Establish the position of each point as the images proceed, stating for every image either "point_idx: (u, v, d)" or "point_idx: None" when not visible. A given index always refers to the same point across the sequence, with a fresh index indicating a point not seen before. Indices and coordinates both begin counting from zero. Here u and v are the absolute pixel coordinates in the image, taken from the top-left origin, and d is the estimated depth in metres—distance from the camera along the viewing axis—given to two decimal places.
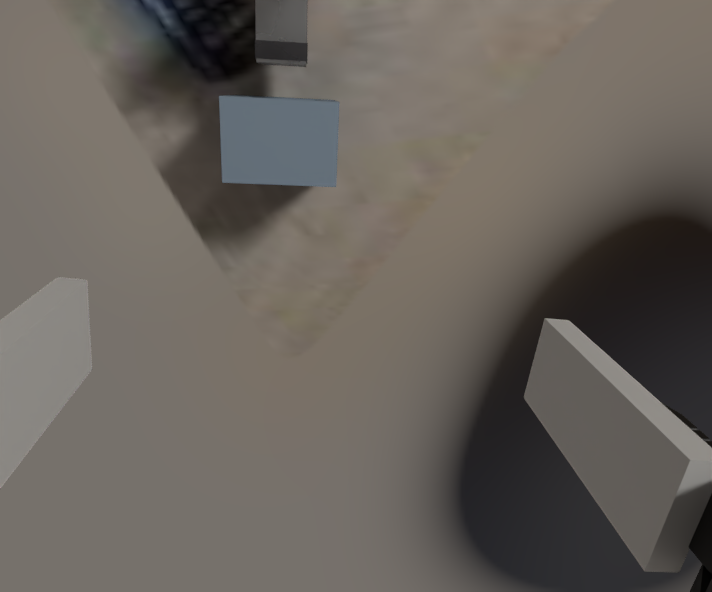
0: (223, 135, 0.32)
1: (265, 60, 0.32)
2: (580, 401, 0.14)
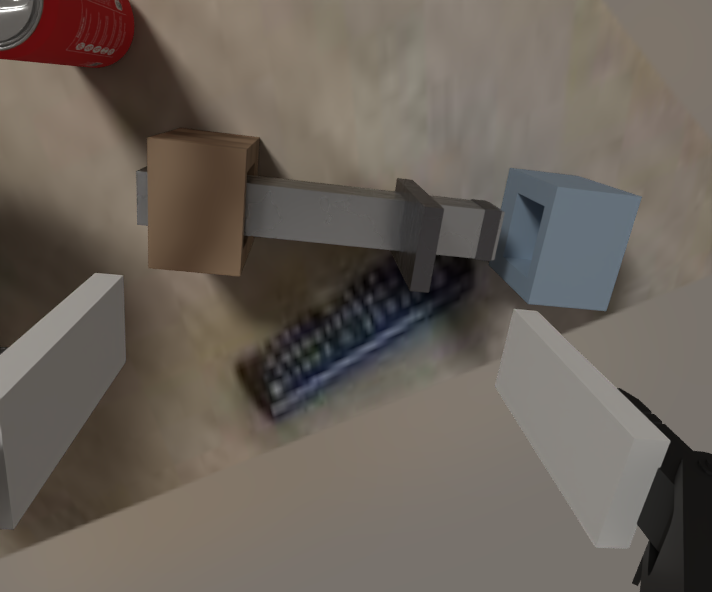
0: (563, 304, 0.32)
1: (494, 251, 0.33)
2: (543, 387, 0.14)
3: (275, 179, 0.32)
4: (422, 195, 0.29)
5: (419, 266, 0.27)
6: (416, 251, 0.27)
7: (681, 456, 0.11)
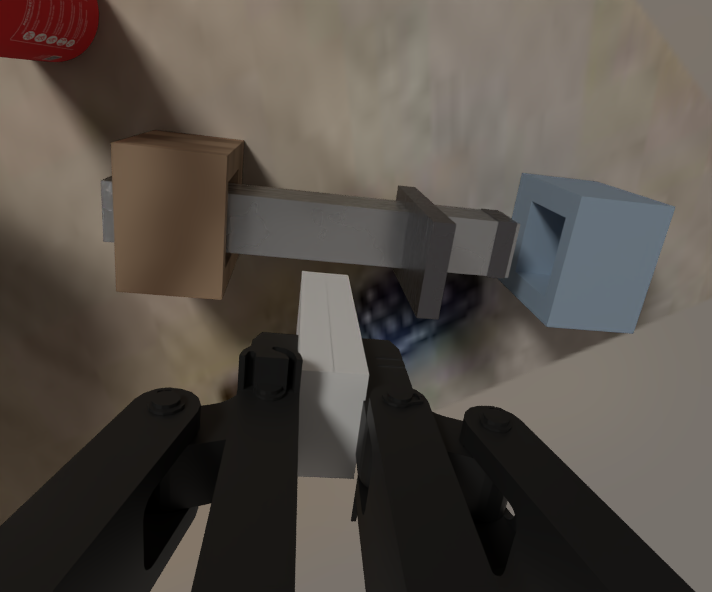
0: (586, 326, 0.29)
1: (508, 267, 0.29)
2: None
3: (261, 188, 0.29)
4: (429, 207, 0.26)
5: (427, 289, 0.24)
6: (424, 273, 0.23)
7: None
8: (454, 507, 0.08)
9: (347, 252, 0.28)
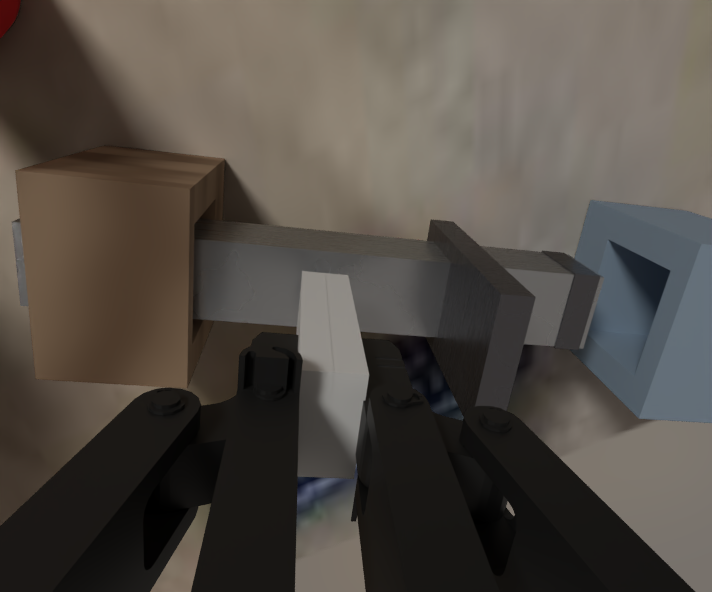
0: (692, 417, 0.21)
1: (584, 335, 0.21)
2: None
3: (246, 226, 0.21)
4: (483, 260, 0.18)
5: (487, 390, 0.16)
6: (483, 366, 0.16)
7: None
8: (454, 507, 0.08)
9: (364, 317, 0.20)
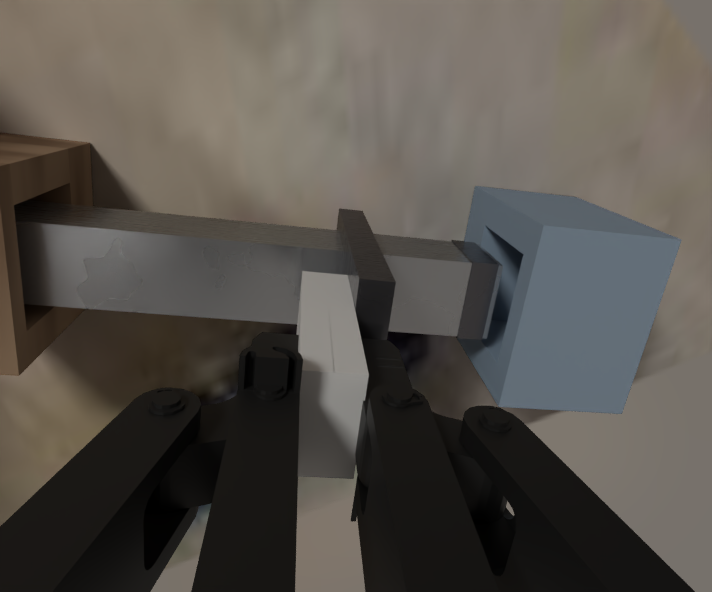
0: (555, 406, 0.20)
1: (487, 325, 0.21)
2: None
3: (141, 215, 0.21)
4: (366, 247, 0.18)
5: None
6: None
7: None
8: (454, 507, 0.08)
9: (258, 306, 0.20)
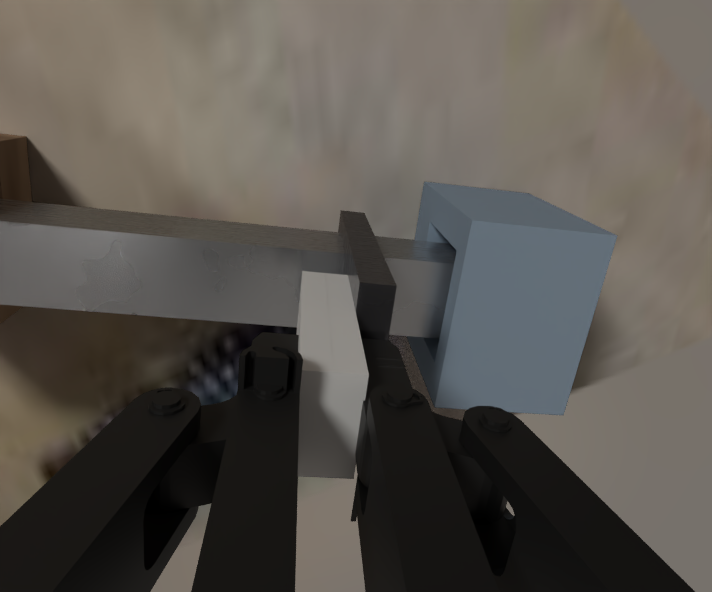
0: None
1: None
2: None
3: (141, 216, 0.20)
4: (367, 249, 0.17)
5: None
6: None
7: None
8: (454, 507, 0.08)
9: (258, 309, 0.20)
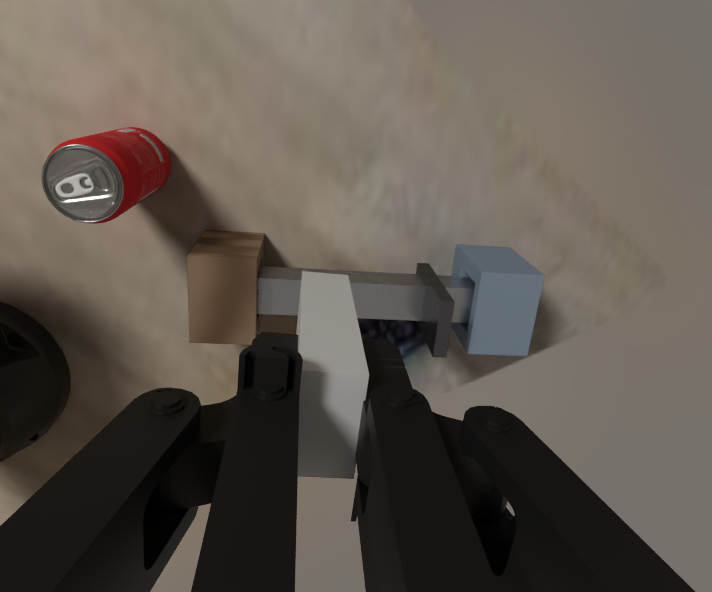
0: (494, 352, 0.44)
1: None
2: None
3: (329, 272, 0.44)
4: (438, 285, 0.41)
5: (438, 340, 0.39)
6: (436, 330, 0.39)
7: None
8: (454, 507, 0.08)
9: (386, 312, 0.43)
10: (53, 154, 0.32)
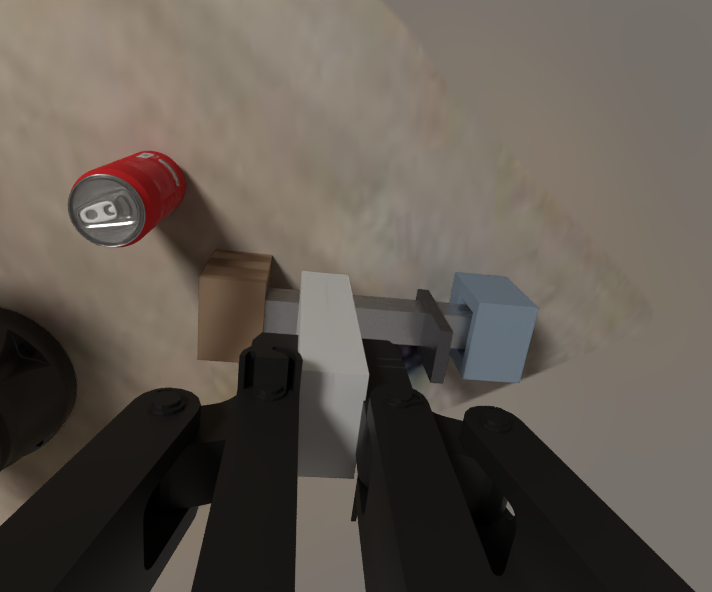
0: (488, 379, 0.46)
1: None
2: None
3: None
4: (437, 314, 0.43)
5: (436, 367, 0.41)
6: (435, 358, 0.41)
7: None
8: (454, 507, 0.08)
9: (387, 336, 0.45)
10: (80, 182, 0.33)
